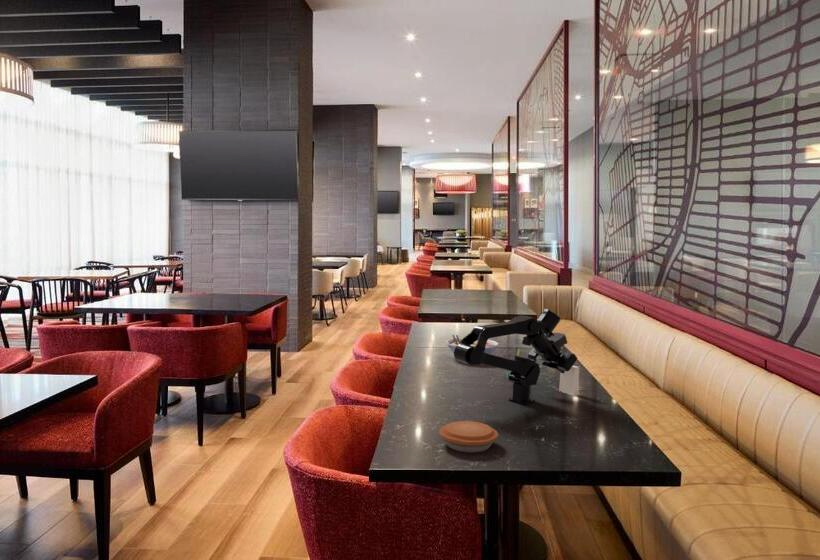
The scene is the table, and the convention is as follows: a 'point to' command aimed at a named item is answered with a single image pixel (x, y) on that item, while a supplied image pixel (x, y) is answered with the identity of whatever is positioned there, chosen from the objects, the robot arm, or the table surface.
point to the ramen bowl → (488, 349)
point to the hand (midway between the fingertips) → (563, 372)
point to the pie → (468, 436)
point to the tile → (570, 381)
